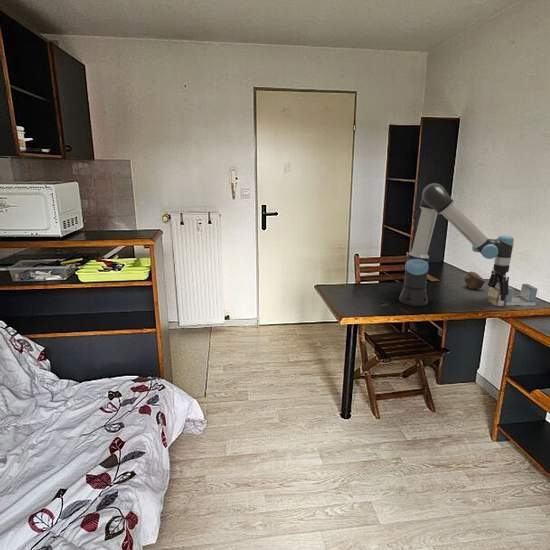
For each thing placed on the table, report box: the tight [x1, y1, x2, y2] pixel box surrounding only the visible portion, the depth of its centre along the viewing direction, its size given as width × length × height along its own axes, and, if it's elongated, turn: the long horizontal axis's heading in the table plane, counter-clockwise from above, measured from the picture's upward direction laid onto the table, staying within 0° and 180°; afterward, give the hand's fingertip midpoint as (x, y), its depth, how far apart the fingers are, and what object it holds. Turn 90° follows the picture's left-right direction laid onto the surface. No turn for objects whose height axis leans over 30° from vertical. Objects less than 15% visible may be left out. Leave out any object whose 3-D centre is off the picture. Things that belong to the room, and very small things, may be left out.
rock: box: [464, 271, 486, 290], centre depth 248 cm, size 12×10×10 cm
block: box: [487, 286, 501, 306], centre depth 223 cm, size 5×8×8 cm, turn 179°
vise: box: [504, 283, 538, 307], centre depth 224 cm, size 16×11×10 cm
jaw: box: [498, 285, 515, 302], centre depth 224 cm, size 4×9×8 cm, turn 179°
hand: (495, 302), depth 224 cm, fingers open, 10 cm apart
